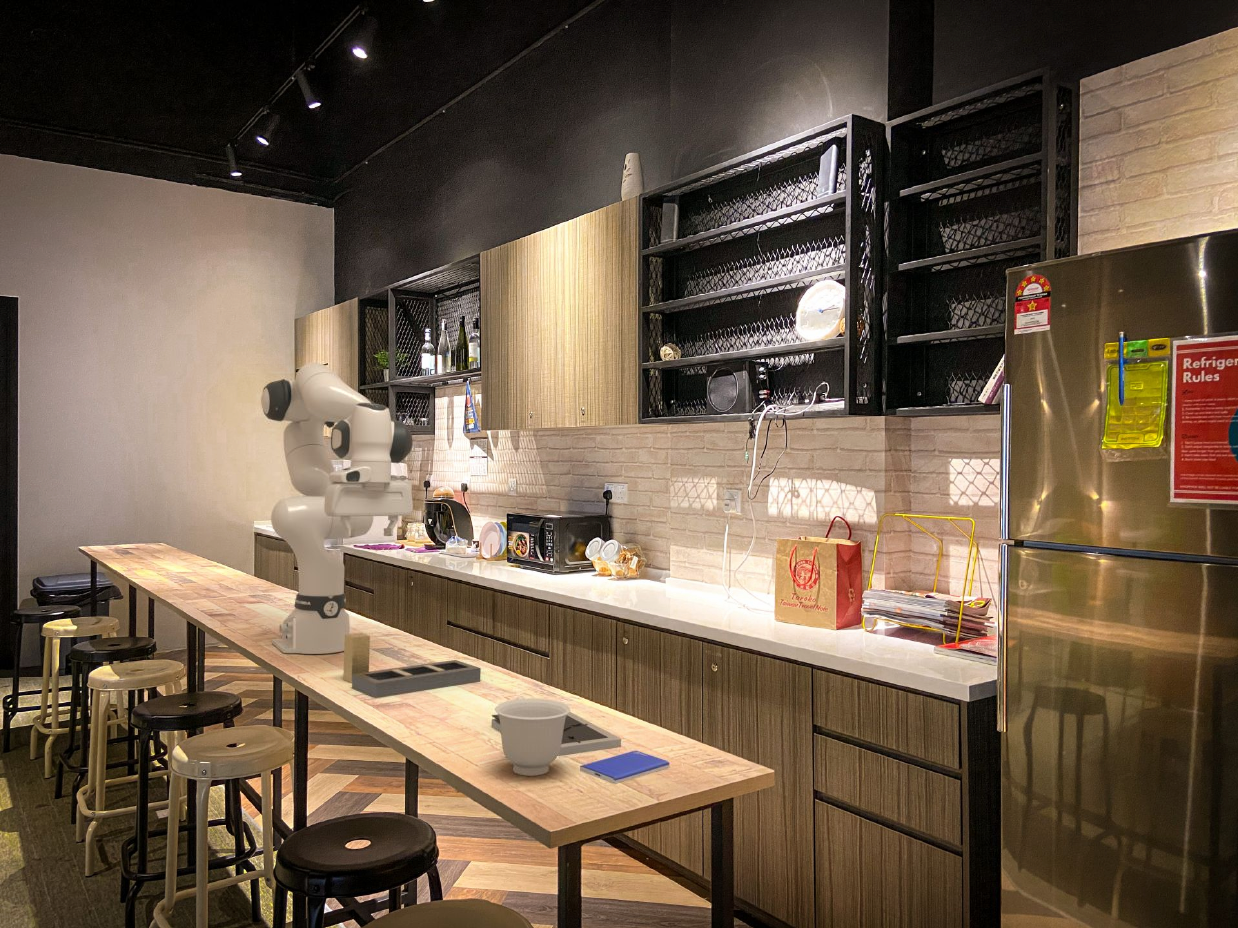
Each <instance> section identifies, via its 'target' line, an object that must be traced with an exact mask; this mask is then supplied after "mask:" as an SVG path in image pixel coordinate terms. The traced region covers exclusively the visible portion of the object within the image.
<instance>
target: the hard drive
mask: <svg viewBox="0 0 1238 928" xmlns="http://www.w3.org/2000/svg"><path fill="white" fill-rule="evenodd" d="M666 769H670V762H669V761H668V760H665V759H663V758H661V757H656V756H654V755H651V754H648V753H644V752H643V751H639V750H632V751H629V752H625V753H621V754H618V755H614V756H611V757H607V758H603V759H600V760H597V761H593V762H589V763H586V764H583V765H579V771H580V772H582V773H585V774H588V775H591V776H593V777H596V778H598V779H600V780H604V781H606V782H609V783H612V784H614V785H617V784H620V783H624V782H626V781H630V780H633V779H637V778H641V777H644V776H646V775H647V776H648V775H650V774H653V773H656V772H659V771H660V772H661V771H664V770H666Z"/></svg>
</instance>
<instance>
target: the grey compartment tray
mask: <svg viewBox="0 0 1238 928" xmlns="http://www.w3.org/2000/svg"><path fill="white" fill-rule="evenodd" d="M481 672H482V668H481V667H479V666H477V665H472V664H470V663H467V662H463V661H460V660H458V659H457V660H456V659H451V660H445V661H437V662H431V663H424V664H414V665H408V666H400V667H393V668H386V669H385V668H384V669H378V670H372V671H370V670H369V672H363V673H355V674H352V684H351V689H354V690H356V691H358V692H360V693H362V694H365V695H368V696H370V697H372V698H375V699H377V698H383V697H389V696H396V695H402V694H408V693H410V694H411V693H415V692H422V691H423V692H424V691H427V690H428V691H429V690H434V689H441V688H447V687H453V686H460V685H466V684H472V683H473V684H474V683H478V682H481V675H482V674H481Z"/></svg>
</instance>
